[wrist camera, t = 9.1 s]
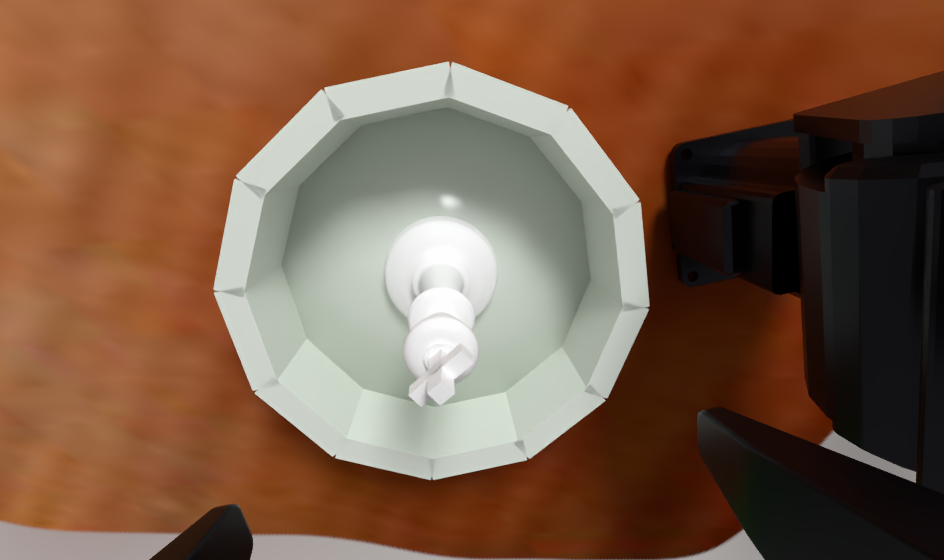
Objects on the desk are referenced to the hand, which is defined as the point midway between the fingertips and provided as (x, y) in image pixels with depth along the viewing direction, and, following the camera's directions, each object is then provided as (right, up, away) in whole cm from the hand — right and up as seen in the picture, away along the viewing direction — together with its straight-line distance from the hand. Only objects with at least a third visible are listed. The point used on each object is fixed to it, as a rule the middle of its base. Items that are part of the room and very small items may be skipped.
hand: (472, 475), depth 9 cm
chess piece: (-1, +4, +11) cm, 12 cm away
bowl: (-1, +4, +12) cm, 12 cm away
